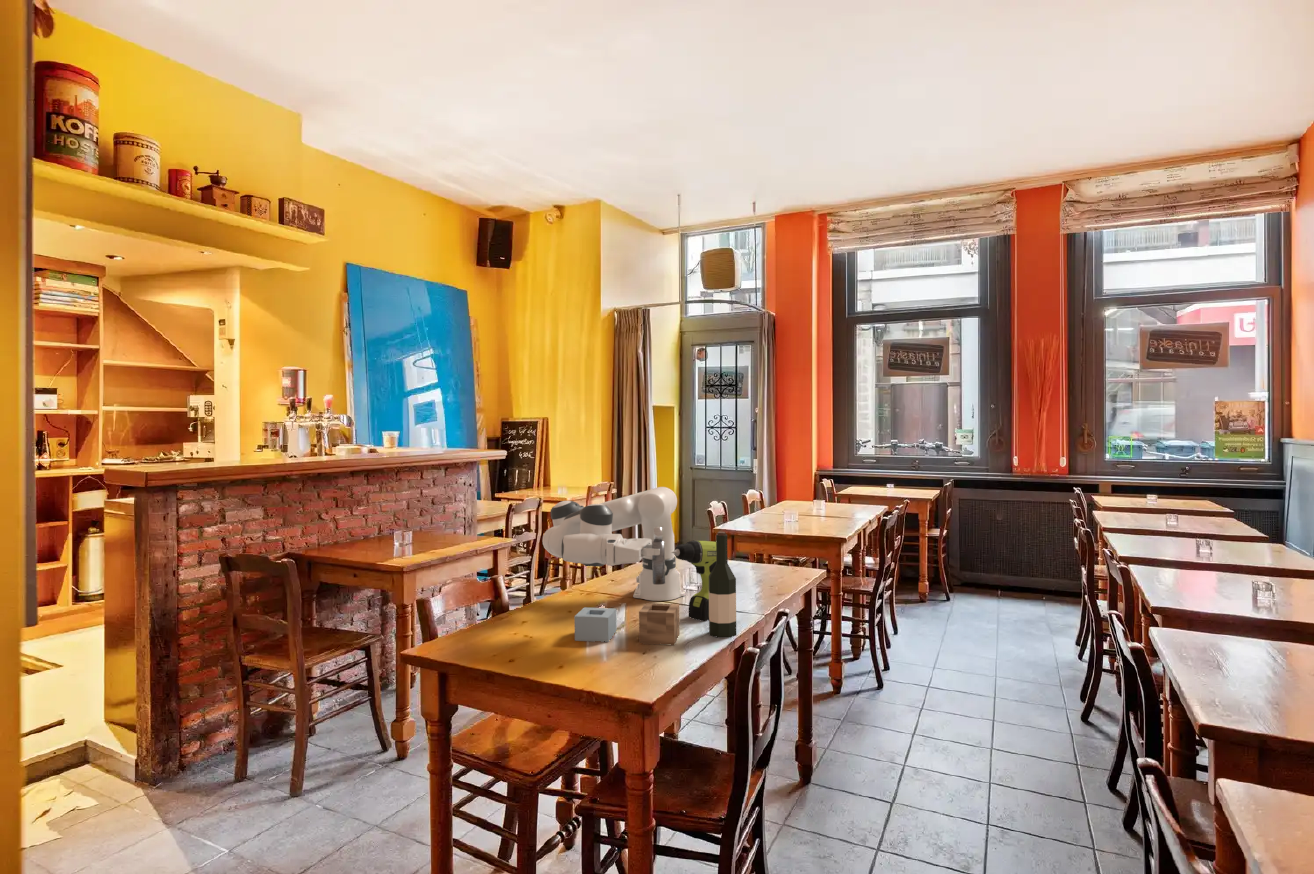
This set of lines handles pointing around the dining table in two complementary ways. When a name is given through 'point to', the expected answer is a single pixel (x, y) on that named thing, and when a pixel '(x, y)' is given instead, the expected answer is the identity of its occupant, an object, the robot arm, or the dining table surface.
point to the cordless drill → (704, 561)
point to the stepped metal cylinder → (658, 558)
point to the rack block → (659, 623)
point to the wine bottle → (722, 593)
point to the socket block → (595, 624)
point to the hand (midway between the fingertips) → (661, 550)
